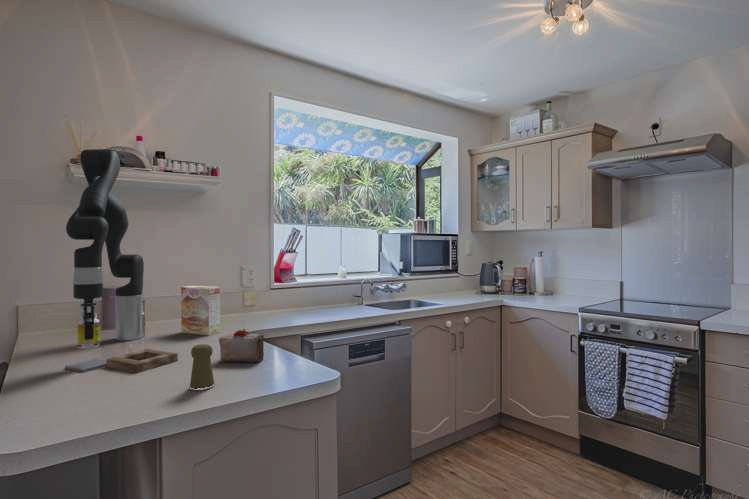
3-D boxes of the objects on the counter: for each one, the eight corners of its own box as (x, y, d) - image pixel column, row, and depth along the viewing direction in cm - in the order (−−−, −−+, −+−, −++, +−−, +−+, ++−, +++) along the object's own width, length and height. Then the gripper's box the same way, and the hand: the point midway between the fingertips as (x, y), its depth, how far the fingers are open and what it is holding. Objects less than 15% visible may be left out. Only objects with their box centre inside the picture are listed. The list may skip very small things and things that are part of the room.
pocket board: (148, 355, 143) (148, 348, 143) (177, 360, 137) (177, 353, 137) (106, 366, 131) (106, 359, 130) (137, 372, 125) (136, 364, 124)
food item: (215, 363, 134) (215, 332, 134) (225, 357, 142) (225, 327, 142) (258, 364, 133) (258, 332, 133) (266, 357, 141) (266, 327, 141)
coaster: (95, 361, 137) (95, 358, 137) (113, 364, 133) (113, 361, 133) (64, 368, 129) (64, 365, 129) (83, 372, 125) (83, 369, 125)
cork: (194, 383, 115) (193, 342, 115) (217, 382, 115) (217, 342, 115) (186, 391, 109) (185, 348, 109) (210, 390, 109) (210, 347, 109)
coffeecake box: (180, 333, 180) (180, 286, 180) (193, 329, 187) (193, 285, 187) (208, 335, 175) (208, 288, 174) (220, 332, 181) (220, 286, 181)
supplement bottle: (98, 348, 129) (98, 314, 129) (76, 350, 127) (75, 315, 127) (100, 344, 134) (100, 311, 134) (79, 346, 132) (79, 313, 132)
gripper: (104, 283, 127) (104, 340, 127) (101, 280, 139) (102, 332, 139) (73, 284, 123) (73, 343, 123) (73, 281, 134) (74, 334, 135)
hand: (88, 337), depth 131 cm, fingers closed on supplement bottle, 5 cm apart
